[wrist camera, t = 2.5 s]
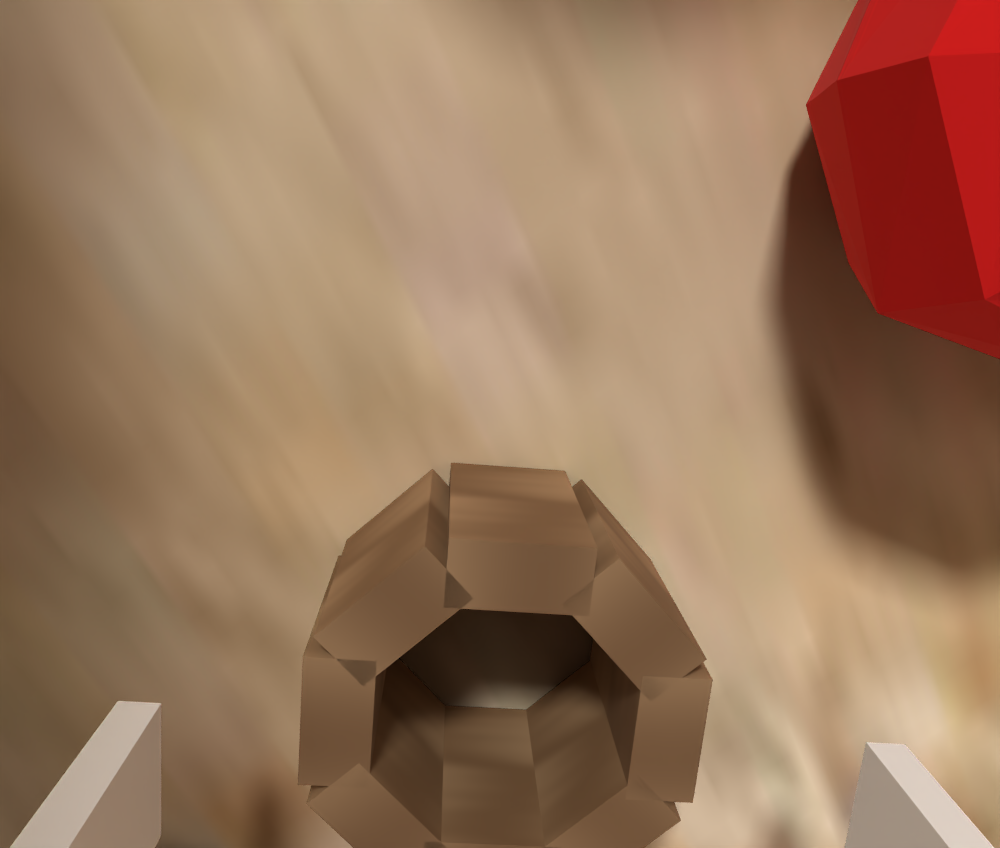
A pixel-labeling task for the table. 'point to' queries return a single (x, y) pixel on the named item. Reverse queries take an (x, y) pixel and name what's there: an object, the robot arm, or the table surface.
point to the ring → (494, 731)
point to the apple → (918, 161)
